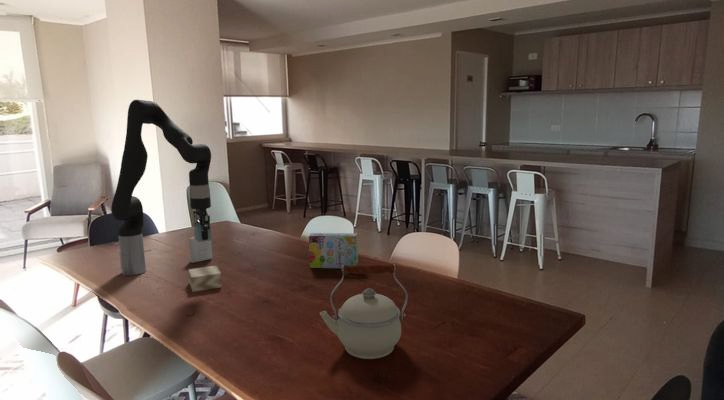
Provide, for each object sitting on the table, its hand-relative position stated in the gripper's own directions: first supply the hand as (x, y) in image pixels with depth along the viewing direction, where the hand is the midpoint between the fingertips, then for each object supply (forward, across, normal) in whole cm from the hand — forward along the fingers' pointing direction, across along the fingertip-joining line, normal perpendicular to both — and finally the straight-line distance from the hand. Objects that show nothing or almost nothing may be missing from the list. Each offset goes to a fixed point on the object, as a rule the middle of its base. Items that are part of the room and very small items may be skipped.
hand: (203, 238), depth 182 cm
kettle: (+19, +80, +21) cm, 85 cm away
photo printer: (+19, -34, +8) cm, 40 cm away
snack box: (+19, +12, +53) cm, 58 cm away
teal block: (+1, 0, 0) cm, 1 cm away
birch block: (+19, +1, 0) cm, 19 cm away
